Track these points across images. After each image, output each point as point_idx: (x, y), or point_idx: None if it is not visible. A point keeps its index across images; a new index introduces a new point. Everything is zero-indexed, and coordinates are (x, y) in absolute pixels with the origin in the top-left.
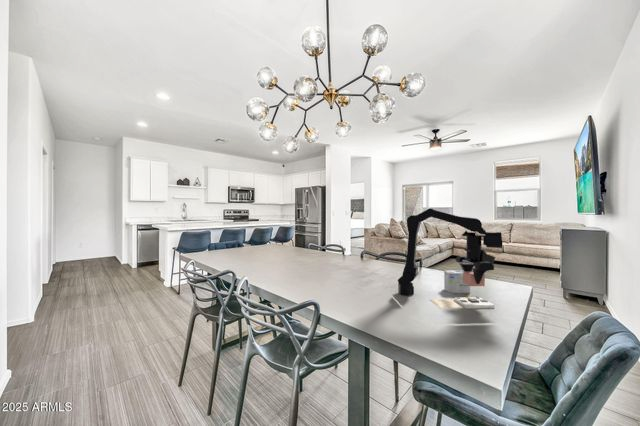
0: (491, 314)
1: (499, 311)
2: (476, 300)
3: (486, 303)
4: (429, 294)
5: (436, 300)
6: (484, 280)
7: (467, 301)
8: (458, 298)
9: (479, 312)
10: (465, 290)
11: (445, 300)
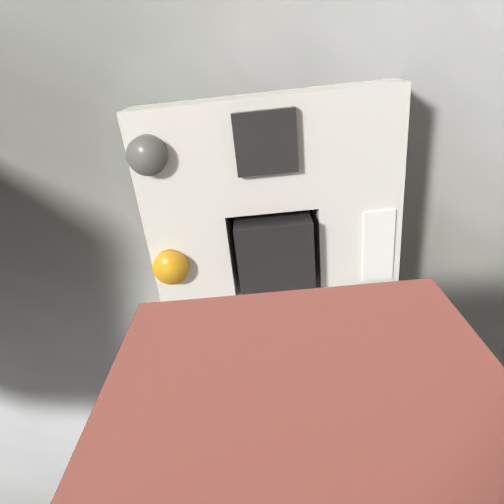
0: (500, 182)
1: (441, 46)
2: (303, 245)
3: (350, 152)
4: (19, 451)
5: None
6: (498, 363)
7: None
8: None
9: (438, 261)
10: None
11: None
